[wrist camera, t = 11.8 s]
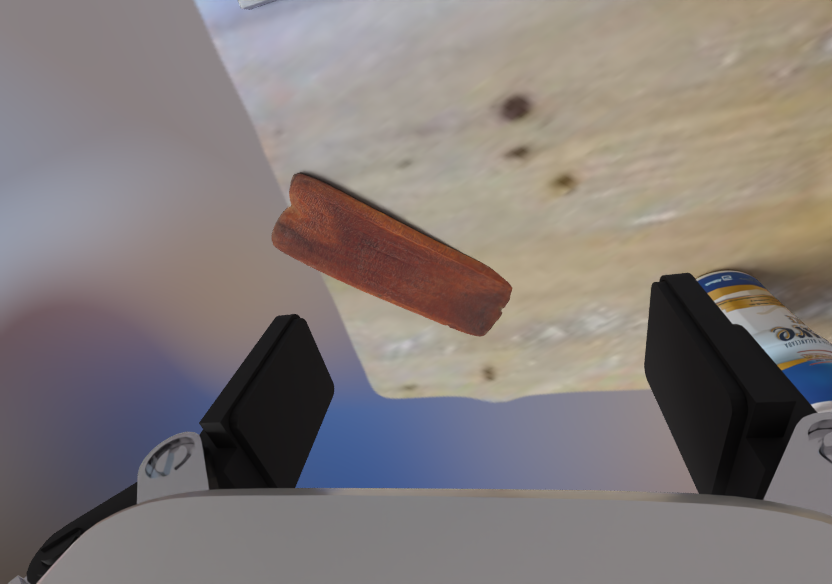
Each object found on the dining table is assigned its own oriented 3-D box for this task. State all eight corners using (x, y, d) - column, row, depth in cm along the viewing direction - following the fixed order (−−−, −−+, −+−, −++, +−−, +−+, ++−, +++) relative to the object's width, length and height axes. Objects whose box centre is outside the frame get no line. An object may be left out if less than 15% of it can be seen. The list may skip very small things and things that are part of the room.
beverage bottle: (650, 305, 43) (757, 480, 26) (728, 250, 39) (915, 417, 22) (700, 347, 45) (830, 535, 28) (780, 299, 41) (988, 487, 24)
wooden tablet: (271, 243, 46) (264, 249, 44) (296, 163, 40) (290, 168, 39) (477, 342, 49) (477, 352, 48) (525, 282, 44) (527, 290, 43)
